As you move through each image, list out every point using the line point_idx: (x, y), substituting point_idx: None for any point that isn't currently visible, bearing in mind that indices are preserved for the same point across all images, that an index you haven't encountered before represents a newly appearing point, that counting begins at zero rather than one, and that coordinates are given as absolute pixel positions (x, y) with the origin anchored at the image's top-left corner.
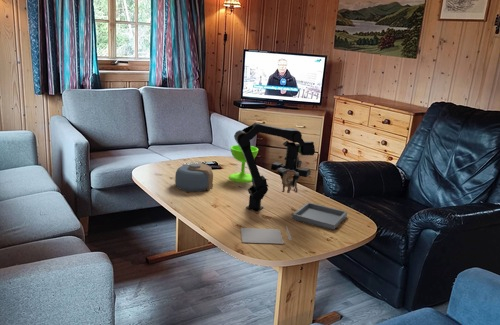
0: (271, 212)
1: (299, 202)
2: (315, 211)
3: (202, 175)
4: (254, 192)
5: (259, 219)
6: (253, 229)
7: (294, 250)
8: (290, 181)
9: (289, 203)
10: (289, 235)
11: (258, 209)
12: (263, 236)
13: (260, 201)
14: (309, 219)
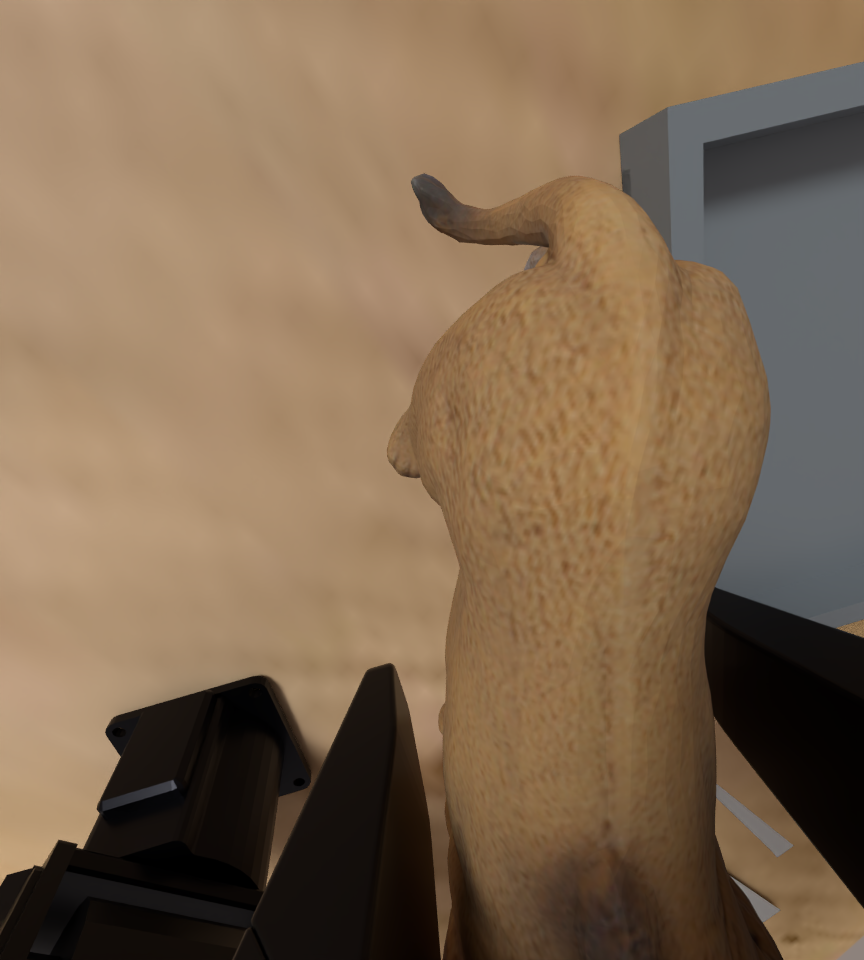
0: (410, 677)
1: (414, 39)
2: (795, 251)
3: None
4: (52, 915)
5: (449, 838)
6: None
7: (845, 895)
8: (711, 849)
9: (341, 253)
10: (758, 823)
11: (291, 761)
12: None
13: (266, 823)
14: (856, 612)
